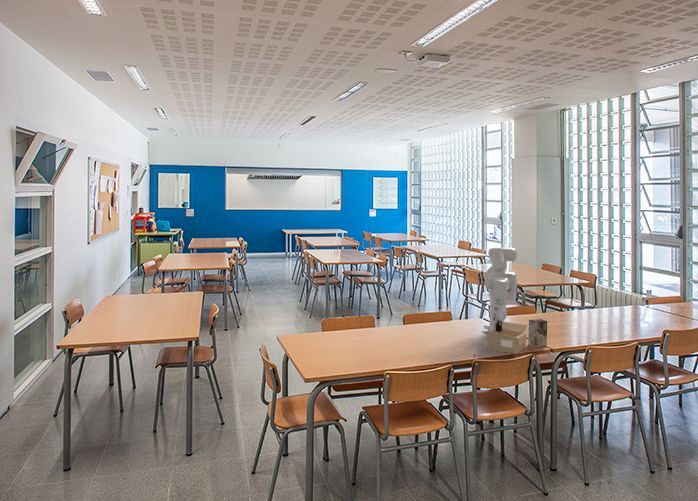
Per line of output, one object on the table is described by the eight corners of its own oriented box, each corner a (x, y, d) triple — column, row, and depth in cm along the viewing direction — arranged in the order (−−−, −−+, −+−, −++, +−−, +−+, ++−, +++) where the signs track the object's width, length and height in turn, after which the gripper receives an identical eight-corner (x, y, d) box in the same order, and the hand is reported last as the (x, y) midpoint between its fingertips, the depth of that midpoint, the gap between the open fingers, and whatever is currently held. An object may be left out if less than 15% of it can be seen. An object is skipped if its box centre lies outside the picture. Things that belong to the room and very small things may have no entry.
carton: (486, 348, 304) (486, 332, 303) (496, 342, 317) (496, 327, 316) (517, 354, 293) (517, 337, 292) (526, 348, 305) (526, 332, 304)
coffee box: (540, 343, 315) (541, 318, 314) (546, 346, 309) (547, 321, 307) (527, 344, 313) (528, 319, 311) (534, 347, 307) (535, 322, 305)
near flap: (512, 335, 288) (512, 336, 288) (515, 337, 292) (515, 338, 292) (485, 331, 298) (485, 331, 298) (488, 333, 302) (488, 333, 302)
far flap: (501, 321, 318) (501, 321, 318) (498, 327, 315) (499, 327, 316) (527, 325, 308) (527, 325, 308) (524, 331, 305) (525, 331, 305)
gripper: (501, 303, 283) (499, 335, 285) (510, 299, 295) (509, 329, 297) (488, 302, 287) (487, 333, 289) (498, 298, 299) (497, 327, 301)
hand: (498, 331), depth 293 cm, fingers closed
